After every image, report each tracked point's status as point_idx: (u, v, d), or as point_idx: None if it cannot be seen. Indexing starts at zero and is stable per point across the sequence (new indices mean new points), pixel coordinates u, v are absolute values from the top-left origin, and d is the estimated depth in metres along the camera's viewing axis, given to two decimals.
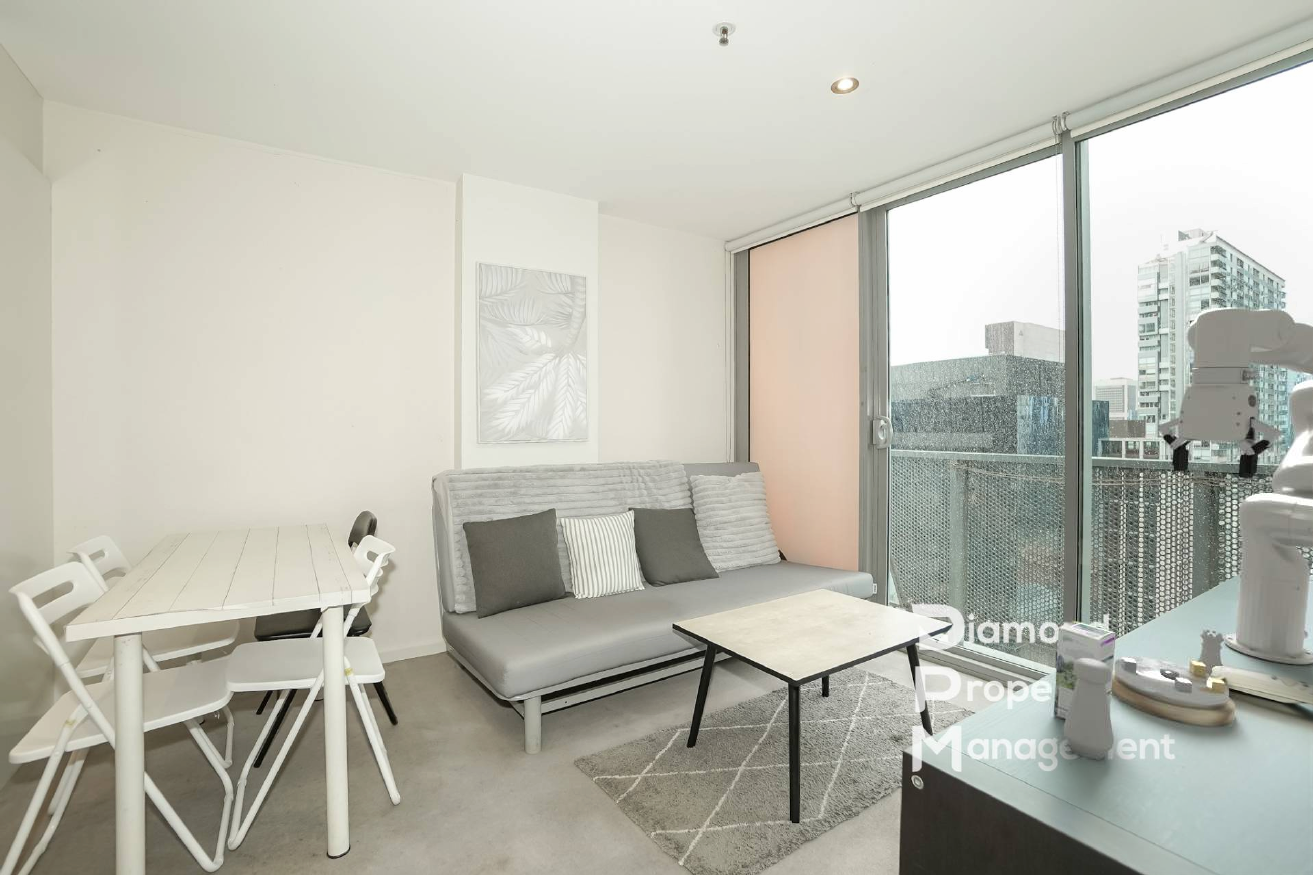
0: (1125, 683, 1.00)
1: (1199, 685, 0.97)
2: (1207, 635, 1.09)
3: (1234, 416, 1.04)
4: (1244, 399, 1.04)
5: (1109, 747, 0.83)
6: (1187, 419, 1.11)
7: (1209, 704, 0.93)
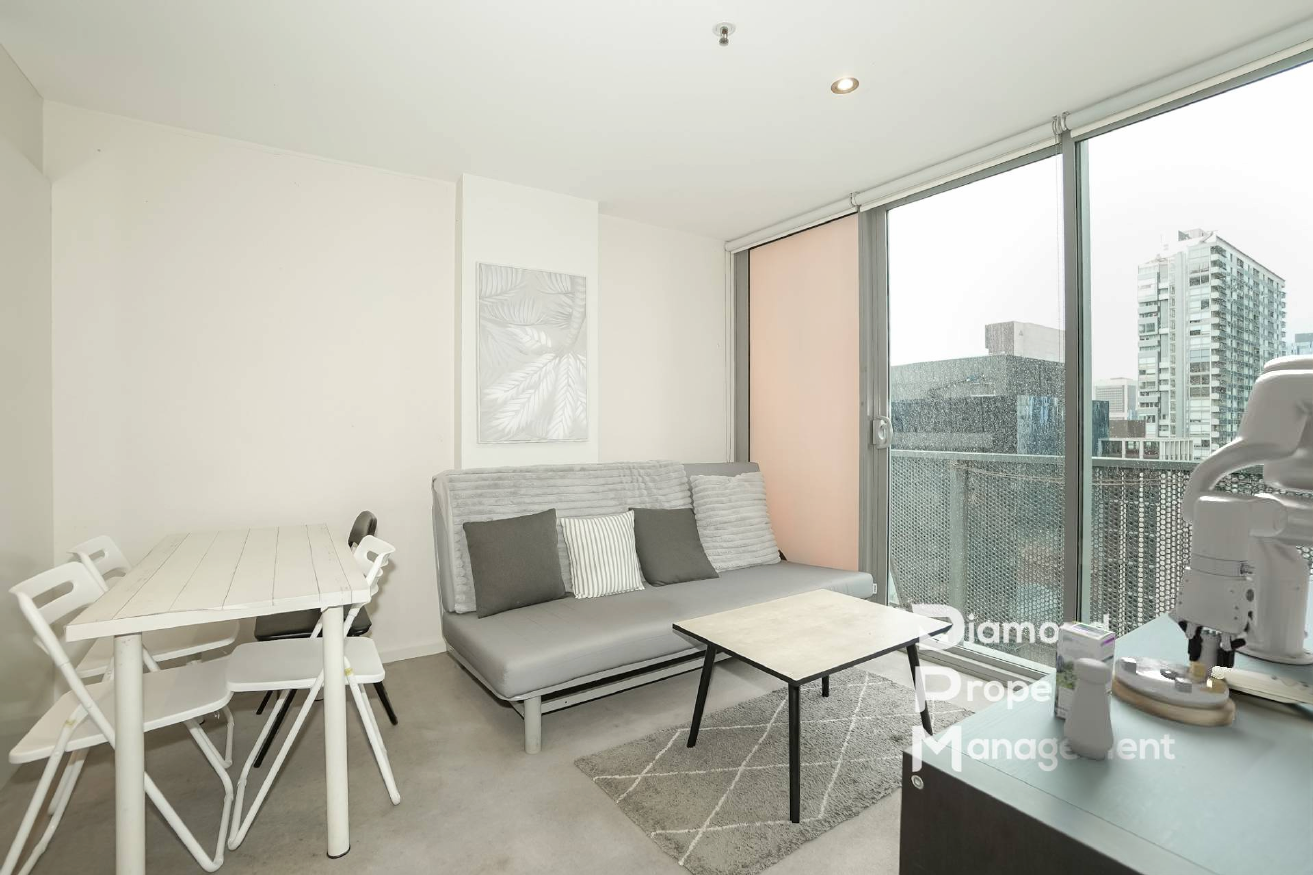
0: (1125, 683, 1.00)
1: (1199, 685, 0.97)
2: (1207, 635, 1.09)
3: (1232, 609, 1.05)
4: (1242, 594, 1.04)
5: (1109, 747, 0.83)
6: (1185, 601, 1.11)
7: (1209, 704, 0.93)
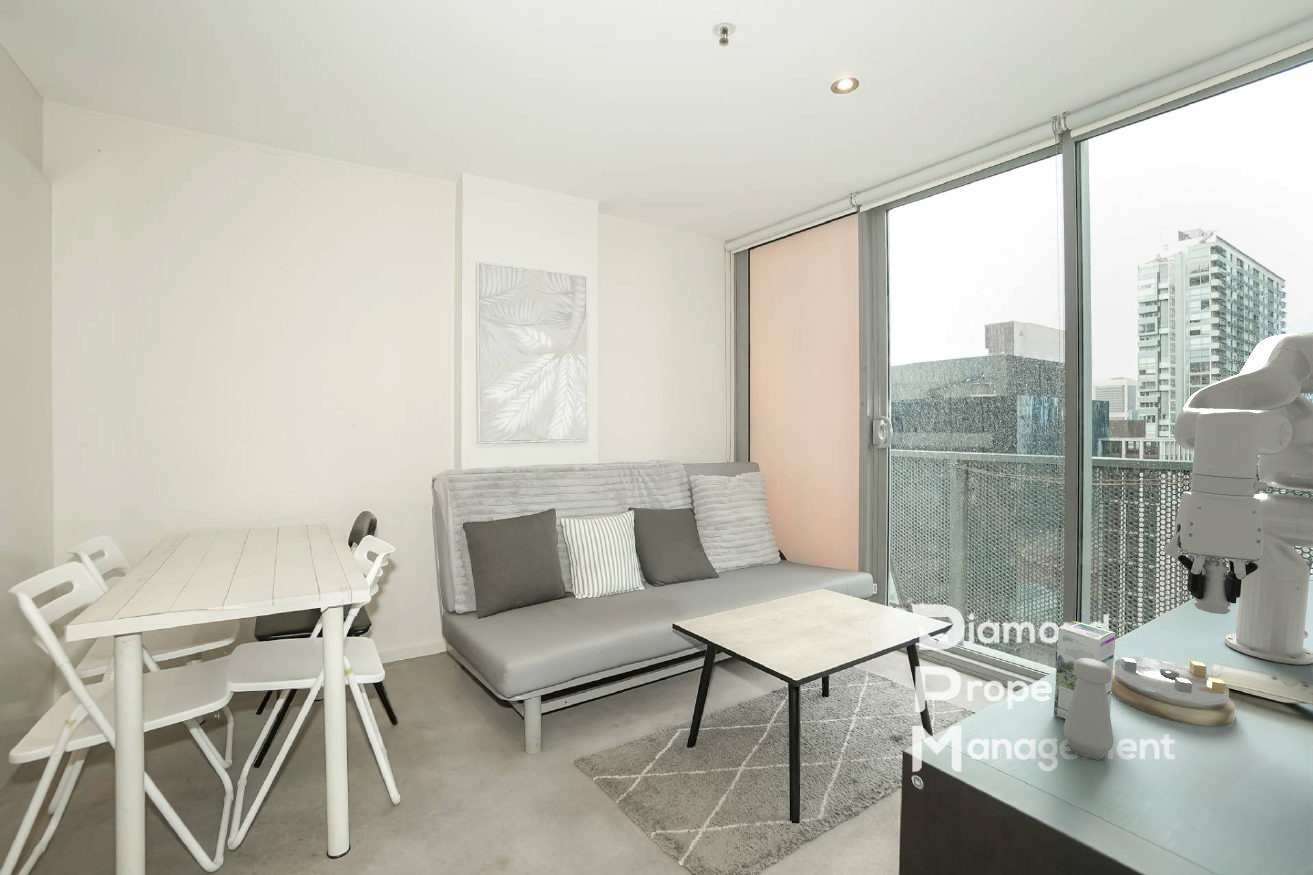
0: (1125, 683, 1.00)
1: (1199, 685, 0.97)
2: (1217, 566, 0.97)
3: (1254, 532, 0.94)
4: (1261, 514, 0.94)
5: (1109, 747, 0.83)
6: (1197, 532, 0.97)
7: (1209, 704, 0.93)
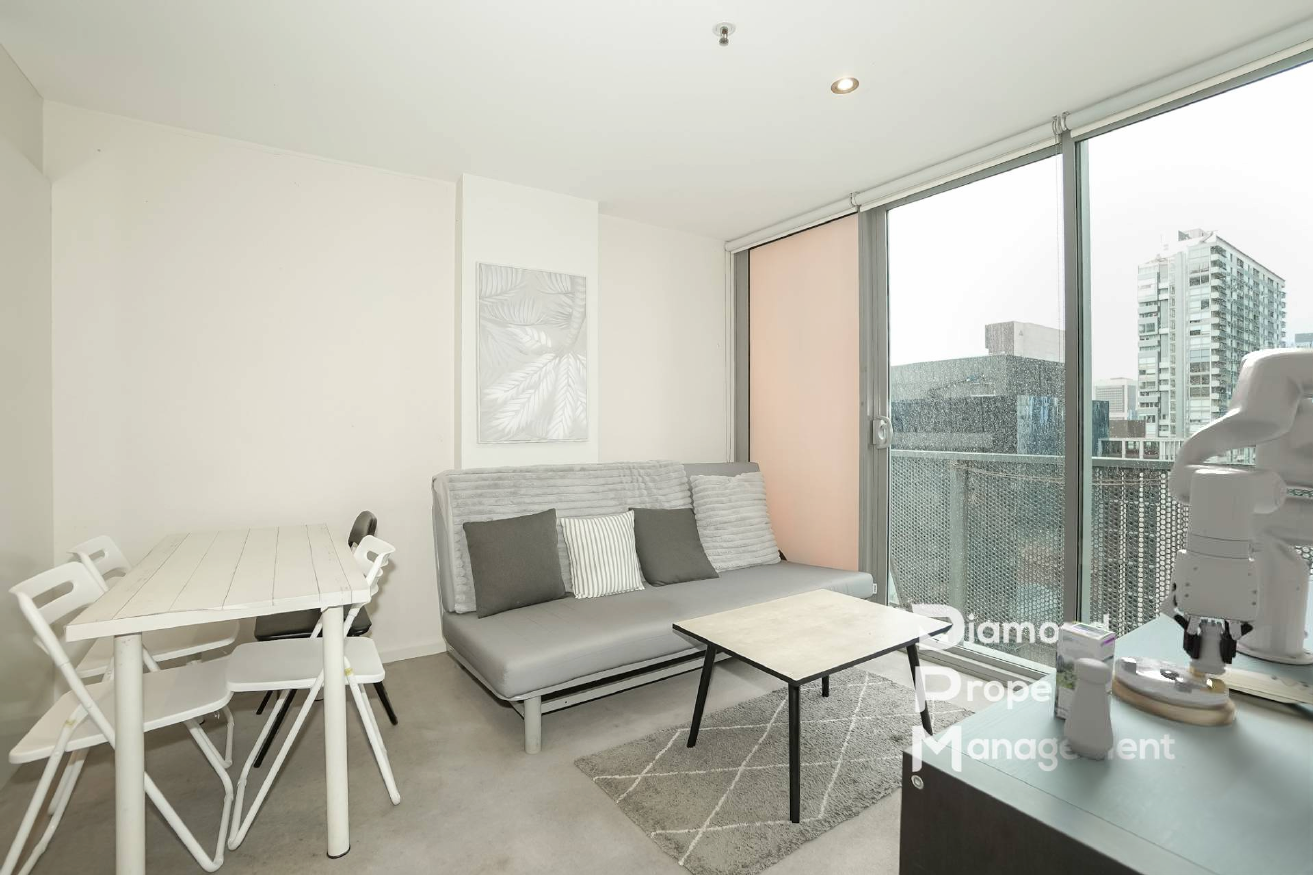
0: (1125, 683, 1.00)
1: (1199, 685, 0.97)
2: (1212, 626, 0.97)
3: (1249, 594, 0.94)
4: (1257, 575, 0.94)
5: (1109, 747, 0.83)
6: (1194, 593, 0.96)
7: (1209, 704, 0.93)
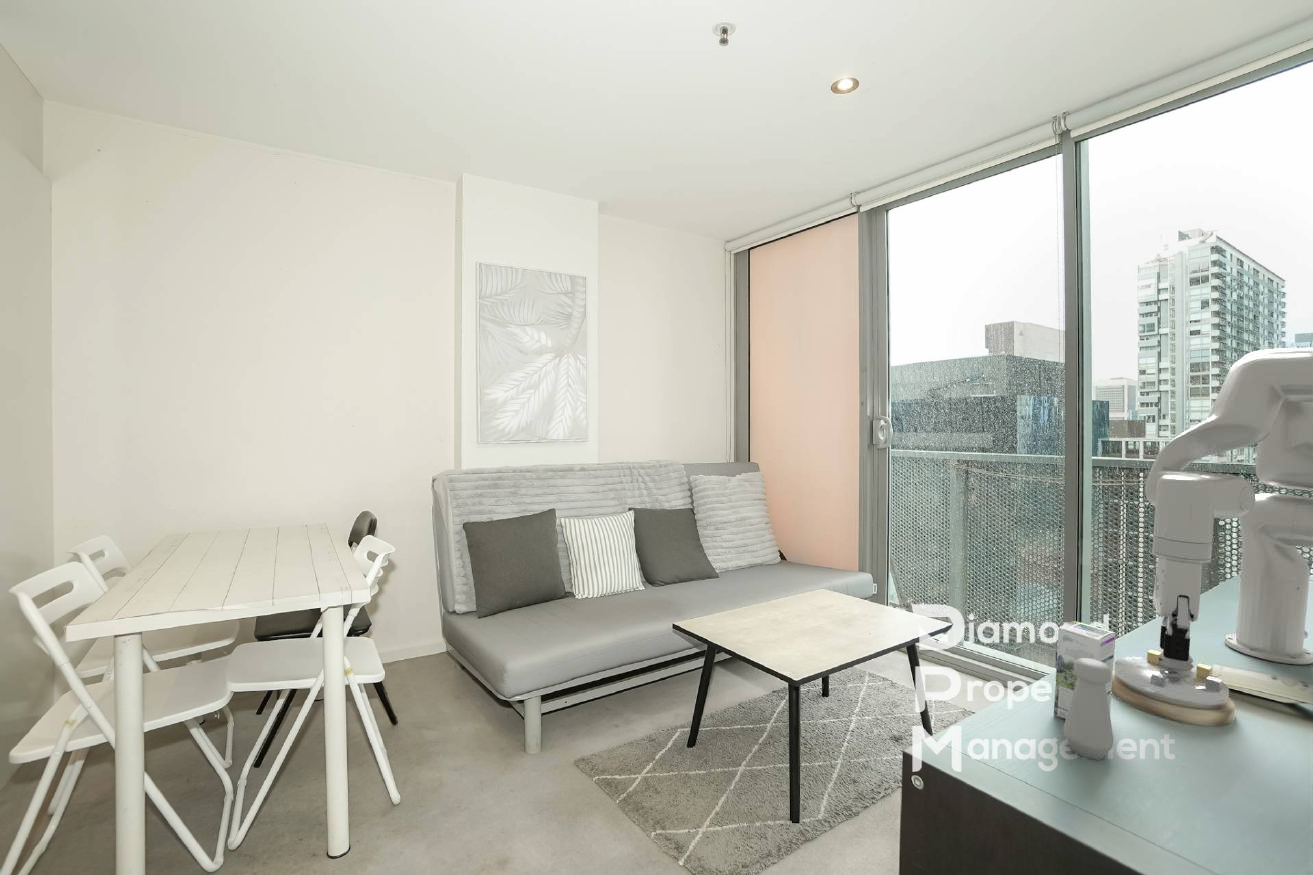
0: (1178, 702, 0.94)
1: (1193, 676, 1.00)
2: None
3: None
4: None
5: (1109, 747, 0.83)
6: None
7: None
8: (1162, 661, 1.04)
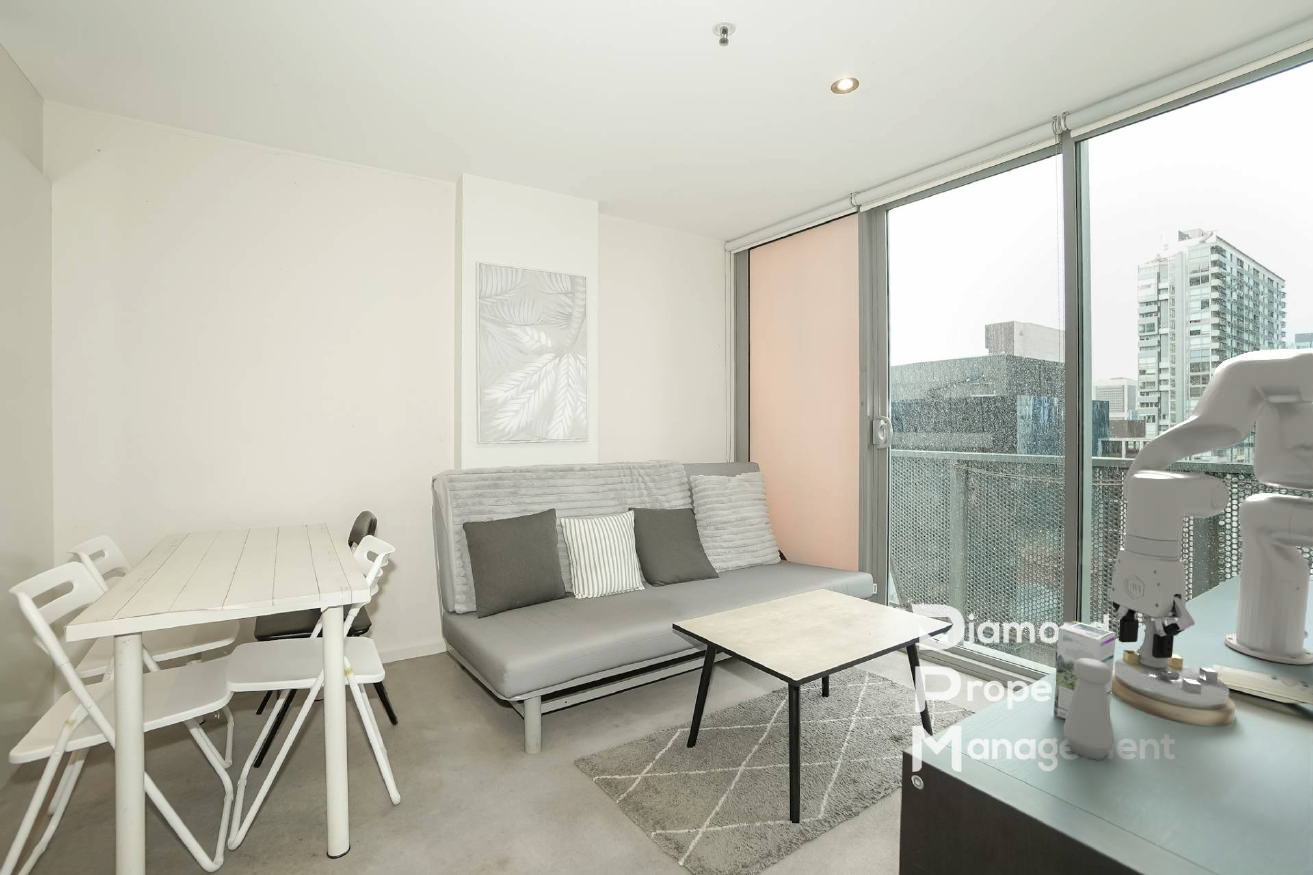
0: (1216, 706, 0.93)
1: (1173, 668, 1.03)
2: None
3: None
4: None
5: (1109, 747, 0.83)
6: None
7: None
8: (1143, 661, 1.04)
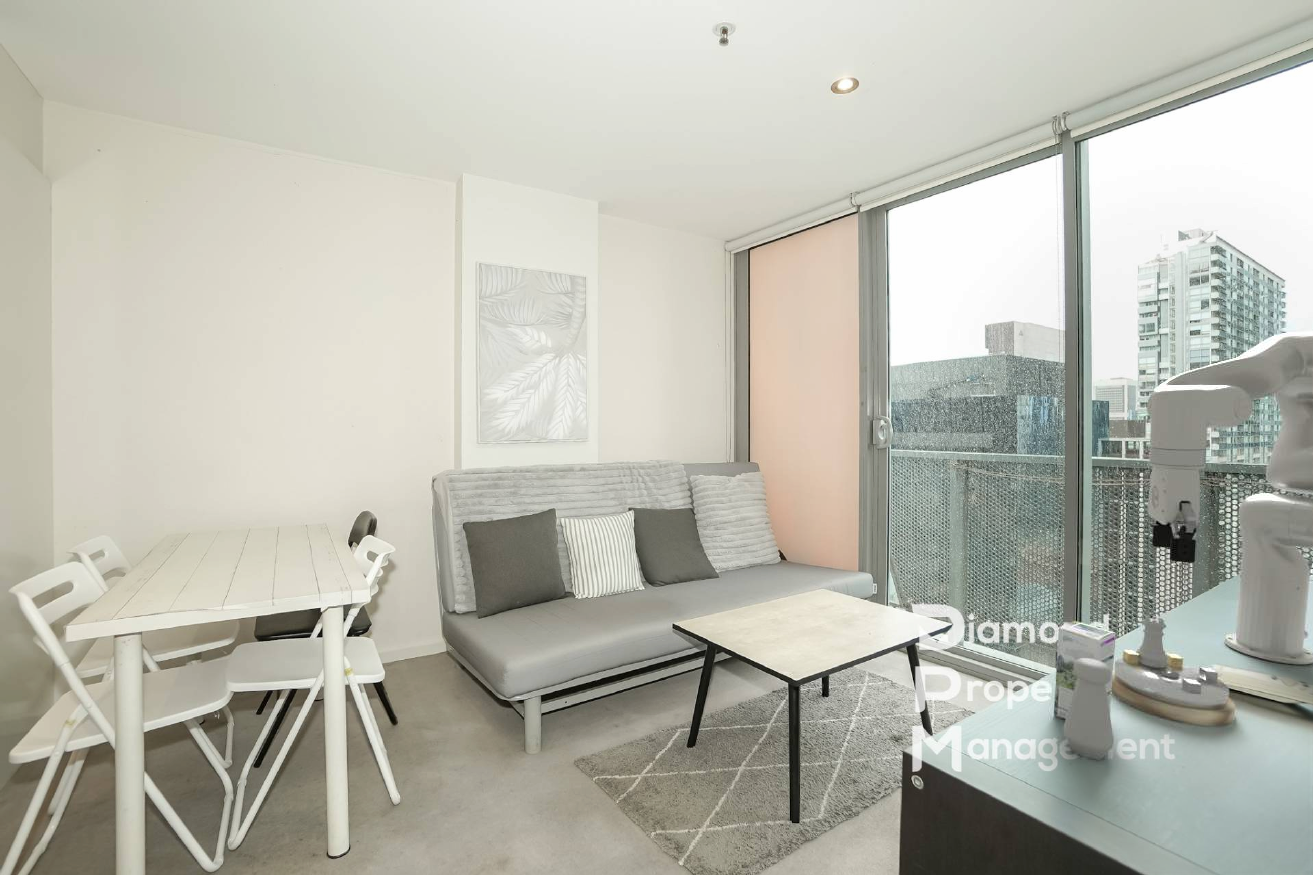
0: (1216, 706, 0.93)
1: (1173, 668, 1.03)
2: None
3: None
4: None
5: (1109, 747, 0.83)
6: None
7: None
8: (1143, 661, 1.04)
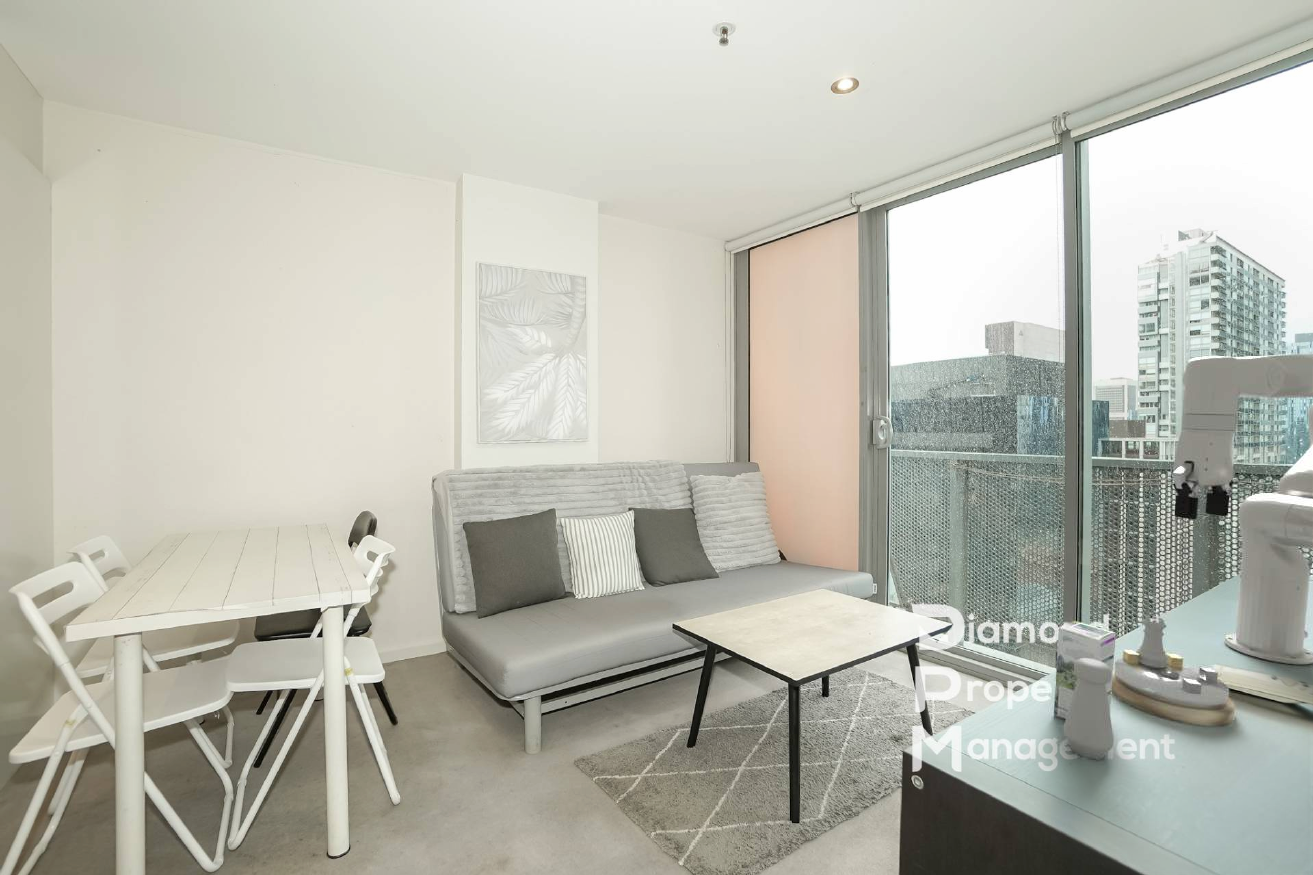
0: (1216, 706, 0.93)
1: (1173, 668, 1.03)
2: None
3: (1231, 461, 1.11)
4: None
5: (1109, 747, 0.83)
6: (1209, 466, 1.08)
7: None
8: (1143, 661, 1.04)
